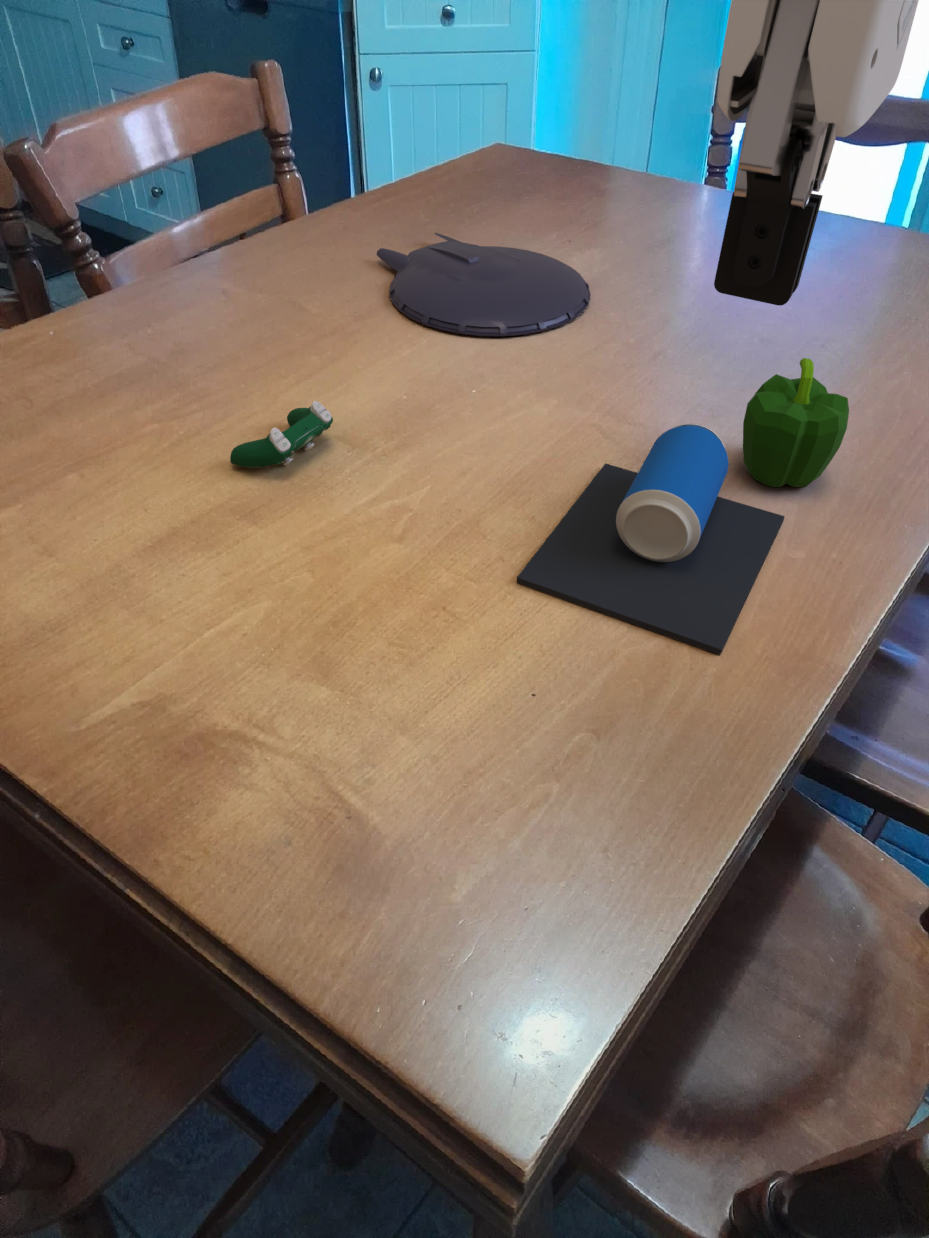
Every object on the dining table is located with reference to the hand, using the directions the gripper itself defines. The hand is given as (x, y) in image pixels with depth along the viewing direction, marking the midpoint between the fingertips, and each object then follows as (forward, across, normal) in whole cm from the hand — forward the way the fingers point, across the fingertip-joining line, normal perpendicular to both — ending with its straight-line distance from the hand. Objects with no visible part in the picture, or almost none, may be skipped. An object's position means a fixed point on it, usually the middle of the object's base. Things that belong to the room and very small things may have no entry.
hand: (754, 291), depth 38 cm
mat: (+29, +18, +6) cm, 35 cm away
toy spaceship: (+29, +56, +42) cm, 76 cm away
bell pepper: (+29, +34, 0) cm, 45 cm away
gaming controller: (+29, +15, +40) cm, 52 cm away
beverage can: (+25, +15, +6) cm, 30 cm away
